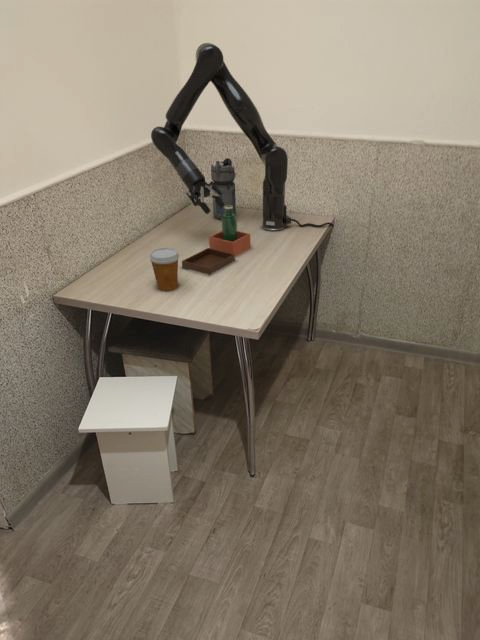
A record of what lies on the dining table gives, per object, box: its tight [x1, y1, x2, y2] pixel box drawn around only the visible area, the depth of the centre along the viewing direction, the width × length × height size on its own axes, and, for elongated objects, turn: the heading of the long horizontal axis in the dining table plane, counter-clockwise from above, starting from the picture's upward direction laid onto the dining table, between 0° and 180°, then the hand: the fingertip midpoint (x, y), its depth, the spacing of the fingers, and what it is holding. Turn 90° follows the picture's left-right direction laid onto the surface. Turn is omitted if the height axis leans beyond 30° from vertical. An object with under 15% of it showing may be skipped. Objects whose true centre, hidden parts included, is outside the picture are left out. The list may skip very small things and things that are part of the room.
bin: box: [208, 230, 251, 257], centre depth 195 cm, size 11×11×6 cm
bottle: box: [221, 205, 238, 242], centre depth 192 cm, size 6×6×16 cm
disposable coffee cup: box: [148, 247, 180, 292], centre depth 165 cm, size 10×10×12 cm
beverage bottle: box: [210, 157, 237, 221], centre depth 224 cm, size 10×13×25 cm
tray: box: [181, 247, 236, 277], centre depth 183 cm, size 15×12×3 cm
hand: (215, 209), depth 191 cm, fingers open, 8 cm apart
